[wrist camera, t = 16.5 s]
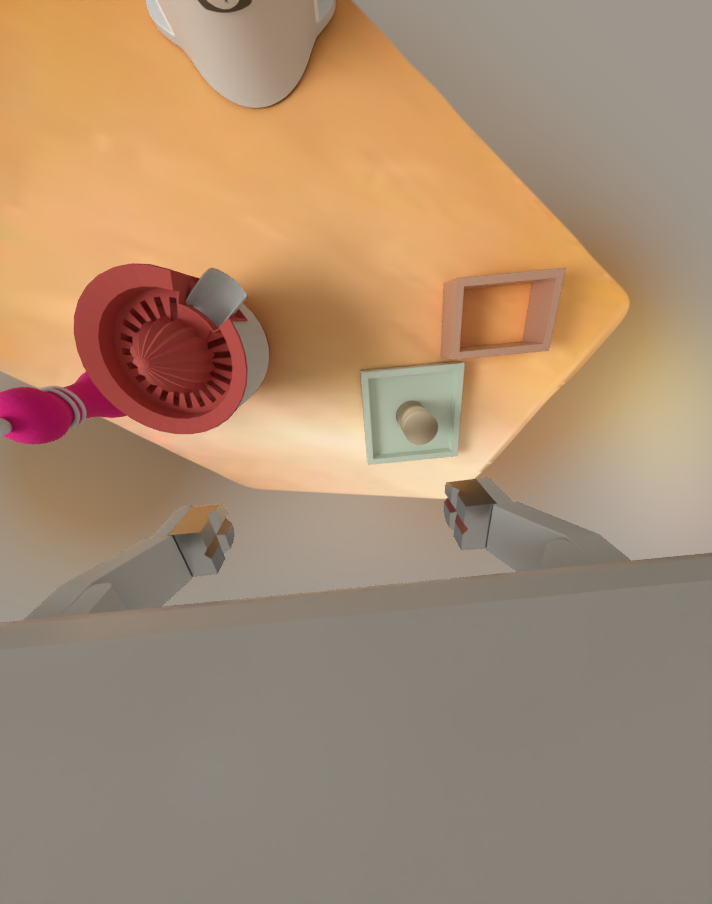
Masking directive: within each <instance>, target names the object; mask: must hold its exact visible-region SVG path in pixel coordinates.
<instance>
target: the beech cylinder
mask: <svg viewBox="0 0 712 904" xmlns="http://www.w3.org/2000/svg"><path fill="white" fill-rule="evenodd" d="M396 420H397V422H398V424H399V426H400V428H401V429H402V431H403V433H404V435H405V436H406V438H407V440H408V441H409V442H411V443H413V444H415V445H423V444H426V443H428V442H430V441H431V440H433V439H434V437H435V436H436V434H437V431H438V423H437V421H436V419H435V418H434V417H433V416H432V415H431V414H430V413H429V412H428V411H427V410H426V409H425V408H424V407H423V406H422V405H421V404H420V403H419V402H417V401H407V402H404V403H403V404H401V405H400V406H399V408H398V409H397V412H396Z"/></svg>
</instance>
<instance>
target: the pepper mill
mask: <svg viewBox="0 0 712 904" xmlns="http://www.w3.org/2000/svg"><path fill="white" fill-rule="evenodd" d="M123 416H127V415H126V414H124V413H123V412H121V411H120V410H119V409H117V408H116V407H115V406H114V405H113V404H112V403H111V402H110V401H109V400H108V399H107V398H105V397H104V396H103V394H102V393H101V392H100V391H99V389H98V388H97V387H96V386H95V384H94V383H93V382H92V380H91V378H90V377H89V375H88V373H87V371H86V372H85V373H84V374H82V375H81V376H80V377H79V378H78V380H77V381H76V382H75V383H74V384H72V385H70V386H67V387H64V388H63V387H59V386H47V387H44V388H38V389H35V388H29V387H25V388H24V387H21V388H13V389H9V390H6V391H3V392H0V436H5V437H7V438H9V439H11V440H14V441H16V442H20V443H26V444H43V443H47V442H51V441H55V440H57V439H59V438H61V437H62V436H63V435H64V434H65V433H66V432H67V431H68V430H69V429H72V428H74V427H77V426H80V425H81V424H82V423H83V422H84V421H85V419H86V418H89V417H109V418H114V417H123Z"/></svg>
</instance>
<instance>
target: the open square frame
mask: <svg viewBox="0 0 712 904" xmlns="http://www.w3.org/2000/svg"><path fill="white" fill-rule="evenodd" d="M565 269H566V268H559V269H548V270H538V271H527V272H517V273H506V274H495V275H485V276H474V277H464V278H456V279H454V280H451V281H448V282H446V283H444V290H443V313H442V336H441V356H442V357H445V358H448V359H451V360H457V359H467V358H477V357H488V356H498V355H509V354H519V353H529V352H540V351H549V348H550V343H551V338H552V333H553V328H554V323H555V318H556V313H557V309H558V304H559V299H560V294H561V289H562V284H563V279H564V274H565ZM525 283H532V286H531V292H530V299H529V305H528V311H527V317H526V323H525V329H524V335H523V342H514V343H503V344H493V345H483V346H472V347H462V348H460V336H461V322H462V308H463V295H464V289H473V288H483V287H494V286H504V285H515V284H525Z"/></svg>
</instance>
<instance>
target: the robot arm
mask: <svg viewBox="0 0 712 904" xmlns="http://www.w3.org/2000/svg"><path fill="white" fill-rule="evenodd" d="M146 3H147V8H148V11H149V14H150V16H151V18H152V20H153V22H154V24H155V25H156V27H157V28H158V30H159V31H160V32H161V33H162V34H163V35H164V36H166V37H167V38H168V39H169V40H171V41H172V42H173V43H175V44H176V45H177V46H179V47H180V48H182V49H183V51H184V52H185V53H186V54H187V55H188V57H189V58H190V59H191V61H192V62H193V64H194V65H195V67H196V68H197V70H198V71H199V72H200V74H201V75H202V76H203V78H204V79H205V80H206V81H207V82H208V83H209V84H210V85H211V86H212V87H213V88H214V89H215V90H216V91H217V92H218V93H219V94H221V95H222V96H223V97H225V98H226V99H228V100H230V101H232V102H234V103H236V104H239V105H241V106H245V107H251V108H261V107H267V106H270V105H273V104H275V103H277V102H279V101H280V100H282V99H283V98H285V97H286V96H287V95H288V94H289V93H290V92H291V91H292V90H293V89H294V87H295V86H296V85H297V83H298V82H299V80H300V79H301V77H302V75H303V73H304V71H305V68H306V66H307V63H308V60H309V57H310V54H311V51H312V48H313V45H314V42H315V40H316V38H317V36H318V35H319V34H320V33H321V31H322V30H323V29H324V28H325V26H326V25H327V24H328V22H329V21H330V20H331V18H332V16H333V14H334V12H335V8H336V0H146ZM445 493H446V495H447V497H448V498H447V499H446V501H445V502H444V514H445V518H446V522H447V524H448V526H449V528H451V529H453V530H454V537H455V540H456V541H457V543H458V545H459V547H460V549H461V550H469V549H485V548H486V550H487V551H489V552H490V553H492V554H493V555H494V556H496V557H497V558H498V559H500V560H501V561H503V562H504V563H505V564H507V565H508V566H510V567H511V568H512V569H514V570H515V571H516V572H511V573H501V574H491V575H481V576H471V577H462V578H461V577H460V578H450V579H440V580H430V581H419V582H409V583H399V584H388V585H378V586H367V587H357V588H348V589H337V590H327V591H318V592H307V593H298V594H288V595H278V596H267V597H256V598H246V599H236V600H226V601H215V602H205V603H194V604H185V605H174V606H164V607H162V606H163V605H164V603H166V602H167V601H168V600H169V599H170V598H171V597H172V596H174V595H175V594H176V593H177V592H178V591H179V590H180V589H181V588H182V587H183V586H184V585H186V584H187V583H188V582H189V581H190V580H191V579H192V577H196V576H204V575H211V574H218V572H219V570H220V568H221V566H222V564H223V562H224V560H225V556H224V553H225V552H227V551H228V550H229V549H230V548H231V546H232V543H233V540H234V528H233V526H232V523H231V522H230V521H228V520H227V519H226V517H227V515H228V511H227V509H226V506H225V505H223V504H211V505H198V506H186V507H180V508H177V510H176V511H175V512H174V513H173V514H172V515H171V516H170V517H169V519H168V520H167V521H166V522H165V523H164V524H163V525H162V526H161V527H160V528H159V529H158V531H157V532H156V533H155V534H154V535H153V536H152V537H150V538H146V539H144V540H142V541H140V542H138V543H137V544H135V545H133V546H131V547H130V548H128V549H126V550H124V551H122V552H120V553H119V554H117V555H115V556H113V557H111V558H110V559H108V560H106V561H104V562H102V563H101V564H99V565H97V566H95V567H93V568H92V569H90V570H88V571H86V572H84V573H83V574H81V575H79V576H77V577H75V578H74V579H72V580H70V581H68V582H67V583H65V584H63V585H61V586H59V587H58V588H57V589H56V590H55V591H54V592H53V593H52V594H51V595H50V596H48V597H47V599H45V600H44V601H43V602H42V603H41V604H40V605H39V606H38V607H37V608H36V609H34V610H33V611H32V612H31V613H30V614H29V615H28V616H27V617H26V618H25V619H24V620H20V621H9V622H0V904H712V553H705V554H695V555H684V556H674V557H665V558H654V559H643V560H633V561H631V560H630V559H629V558H628V557H626V556H625V555H624V554H623V553H622V552H620V551H619V550H618V549H617V548H615V547H614V546H613V545H612V544H611V543H609V542H608V541H607V540H606V539H604V538H603V537H602V536H601V535H600V534H597V533H595V532H592V531H590V530H587V529H585V528H582V527H580V526H577V525H575V524H572V523H570V522H567V521H565V520H562V519H560V518H557V517H555V516H552V515H550V514H547V513H545V512H542V511H540V510H537V509H535V508H532V507H530V506H527V505H525V504H522V503H519V502H513V501H512V500H511V499H510V498H509V497H508V496H507V495H506V494H505V493H504V492H503V491H502V490H501V489H500V488H499V487H498V486H497V485H496V484H495V483H494V481H492V479H490V478H488V477H485V478H478V479H471V480H463V481H454V482H446V485H445Z"/></svg>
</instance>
